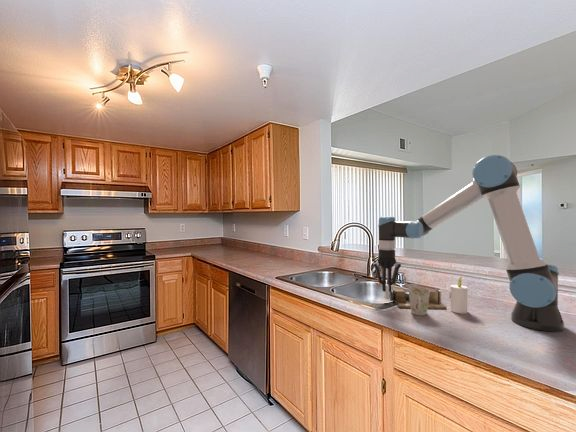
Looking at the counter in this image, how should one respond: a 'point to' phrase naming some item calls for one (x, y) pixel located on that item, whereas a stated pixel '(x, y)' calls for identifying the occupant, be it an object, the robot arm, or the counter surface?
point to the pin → (392, 295)
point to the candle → (458, 298)
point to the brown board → (400, 299)
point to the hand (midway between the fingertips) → (386, 298)
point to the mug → (419, 300)
